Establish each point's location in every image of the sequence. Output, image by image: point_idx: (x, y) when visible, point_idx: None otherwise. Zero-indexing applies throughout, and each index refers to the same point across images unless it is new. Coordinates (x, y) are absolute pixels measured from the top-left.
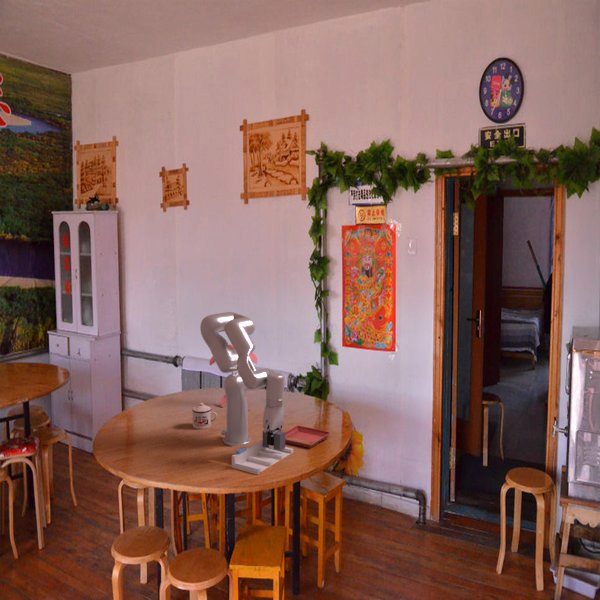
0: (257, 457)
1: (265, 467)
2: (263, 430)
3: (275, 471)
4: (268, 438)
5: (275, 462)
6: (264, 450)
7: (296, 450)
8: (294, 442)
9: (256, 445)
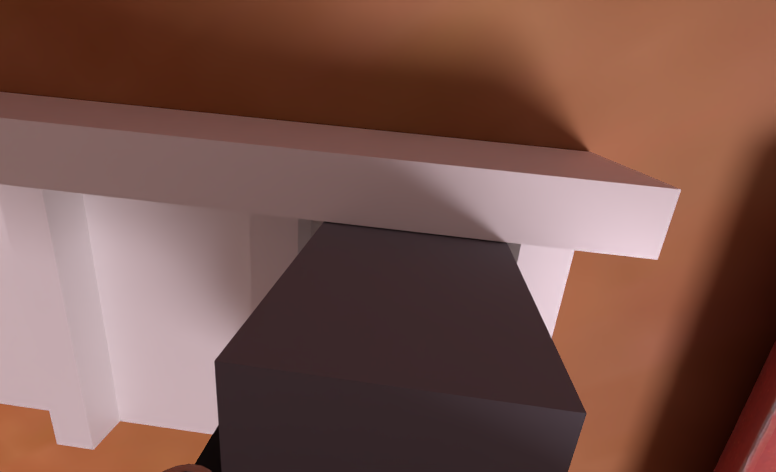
0: (168, 211)
1: (33, 393)
2: (263, 377)
3: (63, 468)
4: (210, 456)
5: (180, 424)
6: (294, 250)
7: (587, 466)
8: (732, 461)
9: (136, 195)
